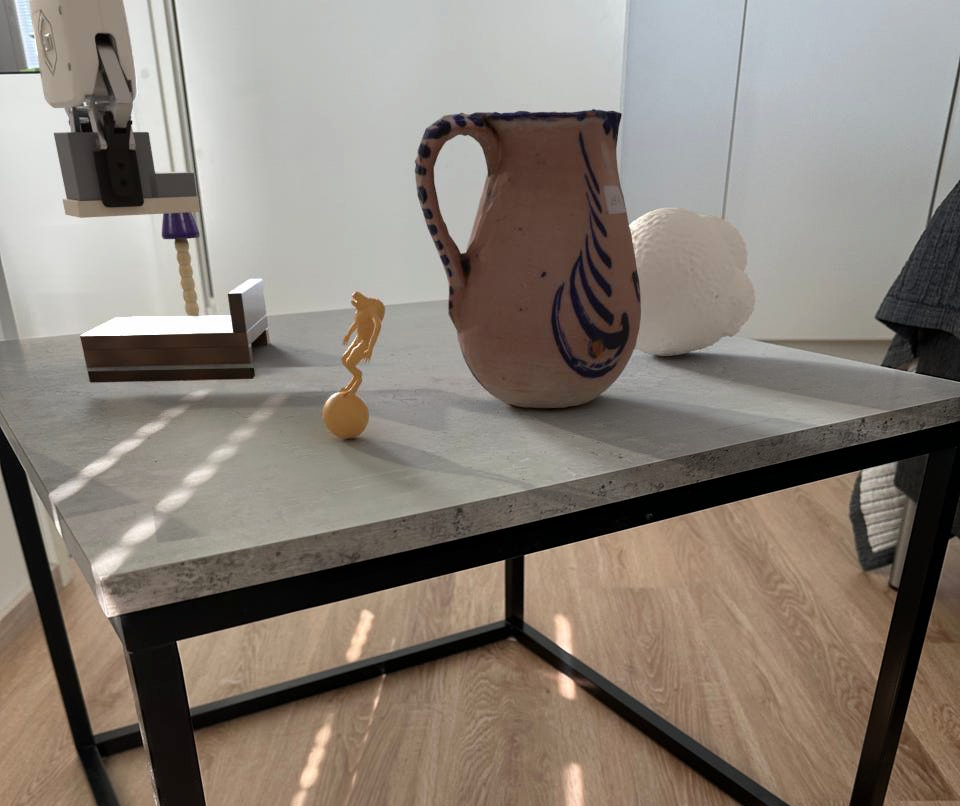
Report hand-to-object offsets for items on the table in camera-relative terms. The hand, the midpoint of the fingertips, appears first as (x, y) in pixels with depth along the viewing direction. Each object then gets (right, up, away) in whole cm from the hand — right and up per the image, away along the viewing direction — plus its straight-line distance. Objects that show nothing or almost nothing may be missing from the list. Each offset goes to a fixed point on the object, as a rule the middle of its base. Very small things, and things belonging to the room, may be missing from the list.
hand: (113, 202), depth 77 cm
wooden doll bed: (-4, -5, +31) cm, 31 cm away
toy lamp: (-7, +3, +47) cm, 47 cm away
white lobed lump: (+53, -2, +34) cm, 63 cm away
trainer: (+1, 0, +1) cm, 2 cm away
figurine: (+20, -19, +5) cm, 28 cm away
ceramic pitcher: (+36, -13, +15) cm, 41 cm away
